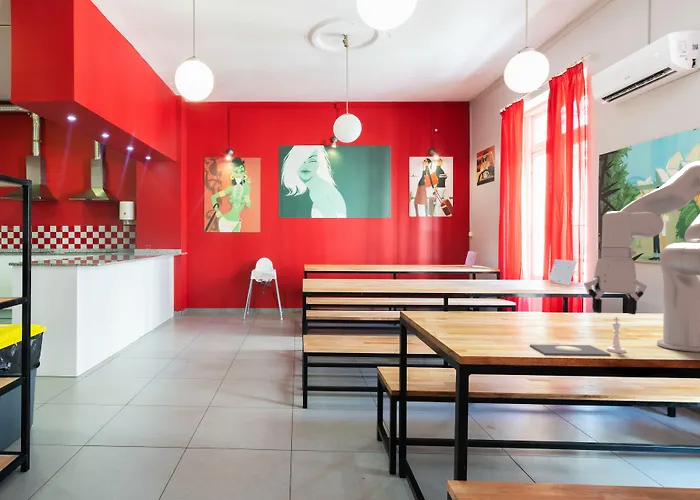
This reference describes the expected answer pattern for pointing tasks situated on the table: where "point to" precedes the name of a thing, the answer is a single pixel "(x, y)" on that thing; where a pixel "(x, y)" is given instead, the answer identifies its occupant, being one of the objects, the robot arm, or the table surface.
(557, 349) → the mat
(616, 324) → the chess piece
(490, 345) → the table surface
